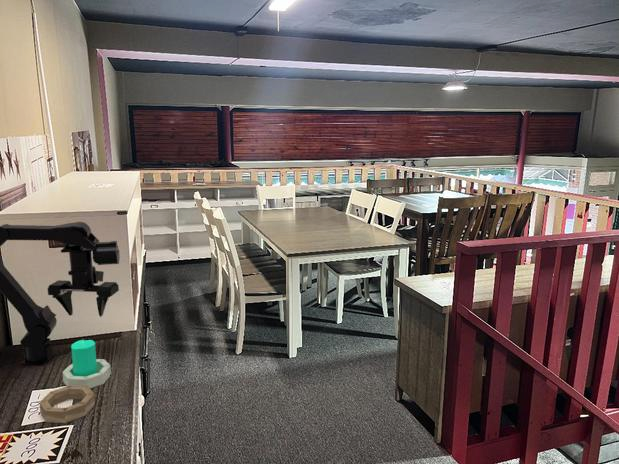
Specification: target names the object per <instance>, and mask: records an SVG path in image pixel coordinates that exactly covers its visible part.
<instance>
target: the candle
mask: <svg viewBox="0 0 619 464" xmlns="http://www.w3.org/2000/svg"><path fill="white" fill-rule="evenodd" d="M96 350H97V349H96V342H95V341H94V340H93V339H88V340H86V339H80V340H77V341H75V342H74V343H72V344H71V359H72V363H73V375H74V376H89V375H92V374H95V373H98V371H97V363H96V359H97V352H96Z"/></svg>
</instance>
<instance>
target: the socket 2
mask: <svg viewBox="0 0 619 464" xmlns="http://www.w3.org/2000/svg"><path fill="white" fill-rule="evenodd" d="M69 400H77V401H78V400H79V401H80V400H81V401H80V402H78V403H75V404H73V405H69V406H66V407H55V405H58V404H61V403H63V402H66V401H69ZM94 406H95V393H94V391H92V388H89V387H88V386H73V385H69V386H66V385H65V386H64V387H61V388H58V389H55V390H52V391H49V393H47V394H46V395H45V396H44V397H43V398H42V399H41V400H40V401H39V413H40V416H41V417H42V418H43V419H44V421H45V423H50V424H51V423H53V424H54V423H55V424H67V423H69V422H73V421H74V420H77V419H80V418H82V417H85V416H87V415H88V413H89V412H90V411H91V410H92V409H93V407H94Z"/></svg>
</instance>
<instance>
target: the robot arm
mask: <svg viewBox="0 0 619 464" xmlns="http://www.w3.org/2000/svg"><path fill="white" fill-rule="evenodd" d="M7 241H50V242H51V241H53V242H58V243H61V244H64V247H62V249H60V253H63V254H64V253H68V255H69V265H70V270H68V271H67V272H68V276H70V277H71V281H70V280H62V279H61V280H60V279H59V280H56V281H55V282H53V283H51V284H49V285H48V286H47V295H48V296H52V298H53V299H55V300H56V301H57V302H59V304H60V305H61V306H62V308H63V309H64V310H65V312H66V313H67V315H69V316H72V315H73V310H74V309H73V302H72V293H73V292H83V293H85V292H86V293H88V292H90V293H96V295H97V297H96V298H95V301H96V307H97V312H98V315H99V317H100V318H101V317H103V315H104V313H105V309H106V306H107V303H108V301H109V299H110V297H112V296H113V295H115V294H117V292H119V291H120V289H119V287H120V286H119V284H118V283H117V282H116V281H104V274H105V273H104V272H105V271H101V270H96V266H93V262H94V264H96V265H98V266H103V265H107V266H108V265H119V264H120V259H121V258H120V250H119V247H118V246H119V245H118V241H117V240H111V241H100V240H99V239H98V238H97V237H96V236H95V235H94V233H93V232H92V229H91V228H90V226H89V224H88V223H86V222H84V221H76V222H68V223H64V224H59V225H36V224H35V225H34V224H33V225H26V224H22V225H21V224H9V223H3V224H2V225H0V247H2V246H3V245H4V244H5V243H6V242H7ZM99 282H100V283H101V282H102V283H101V284H99V285H96V284H98V283H99ZM0 293H1V294H2V295H3V296H4V297H5V299H7V301H8V302H9V303H10V304H11V306H12V307H13V308H14V309H15V310H16V311H17V312H18V314H20V316H21V318H22V322H23V325H24V328H25V329H26V333H25V334H24V335H23V337H22V338H21V340H20V341H19V342H20V344H21V346H22V348H23V357H24V358H23V359H24V360H22V361H20V364H21V365H30V366H43V365H45V364H46V363H48V362H49V361H50V360H51V359H52V358H53V357H54V356H55V353H54V351H53V344H52V343H51V338H49V337H50V336H51V333H52V332H53V330H54V329H55V327H56V326H57V322H58V321H57V318H56V316H57V314H56V313H54V312H53V311H52V310H51V308H50V306H49V305H45V306H44V307H43V306H40V305H38V304H37V303H36V302H35V301H34V300H33V298H31V296H30V295H29V294H28V293H27V291H26V290H25V289H24V288H23V286H22V285H21V284H20V283H19V282H18V281H17V280H16V278H15V277H14V276H13V275H12V274H11V272H10V271H9V270H8V269H7V268H6V267H5V264H4V261H3V257H2V254H1V253H0Z"/></svg>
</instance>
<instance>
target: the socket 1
mask: <svg viewBox="0 0 619 464" xmlns="http://www.w3.org/2000/svg"><path fill="white" fill-rule="evenodd" d="M96 363H97V373H95V374H92V375H89V376H74V375H73V362H72V363H70V365H69V366H68V367H66V368H65V369H64V370H63V371H62V382H63V383H64V385H65V387H66V386H69V385H73V386H88V387H89V388H90V389H92V388H96V387H98V386H101V385H104V384H105V383H106V382H107V381H108V379H109V378H110V377H111V376H112V372H111V371H112V369H111V368H112V367H111V364H110V363H109V362H107V360H106V359H102V358H96ZM110 375H111V376H110Z"/></svg>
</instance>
